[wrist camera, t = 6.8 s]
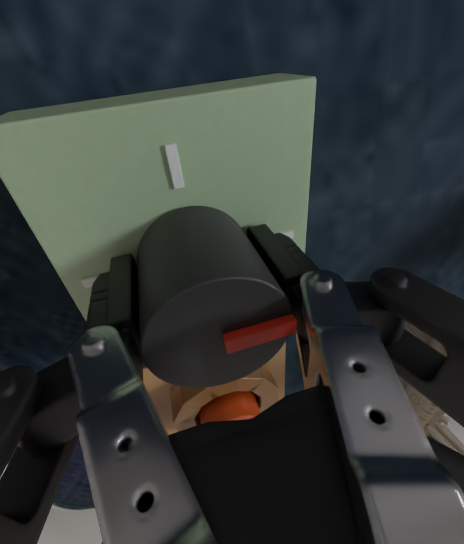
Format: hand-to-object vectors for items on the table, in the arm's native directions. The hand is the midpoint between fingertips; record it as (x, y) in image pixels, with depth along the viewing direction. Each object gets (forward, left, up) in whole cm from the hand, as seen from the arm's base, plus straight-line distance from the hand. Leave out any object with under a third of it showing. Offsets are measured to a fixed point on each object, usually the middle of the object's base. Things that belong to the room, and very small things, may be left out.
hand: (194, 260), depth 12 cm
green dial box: (0, 0, -3) cm, 3 cm away
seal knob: (0, 0, 0) cm, 0 cm away
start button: (+11, 0, 0) cm, 11 cm away
